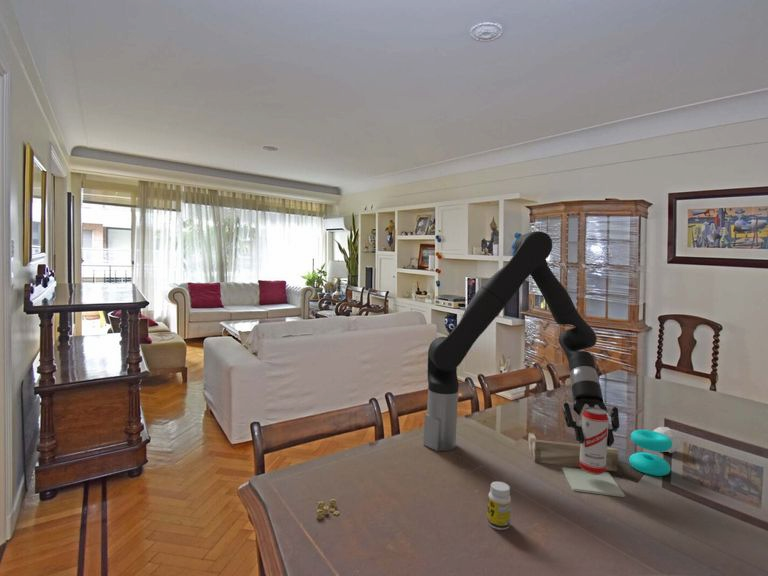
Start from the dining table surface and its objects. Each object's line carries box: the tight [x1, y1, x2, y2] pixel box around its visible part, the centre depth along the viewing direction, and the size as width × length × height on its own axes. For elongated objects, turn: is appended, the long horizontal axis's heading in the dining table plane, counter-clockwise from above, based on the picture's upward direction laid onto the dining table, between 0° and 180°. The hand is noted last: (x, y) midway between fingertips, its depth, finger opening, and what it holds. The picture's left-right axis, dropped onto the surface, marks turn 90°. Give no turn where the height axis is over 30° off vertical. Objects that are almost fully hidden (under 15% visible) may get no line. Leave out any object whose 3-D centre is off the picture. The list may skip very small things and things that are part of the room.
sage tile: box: [561, 466, 626, 498], centre depth 113 cm, size 12×12×1 cm
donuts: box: [628, 429, 672, 477], centre depth 122 cm, size 10×10×10 cm
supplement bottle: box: [486, 481, 512, 531], centre depth 93 cm, size 5×5×8 cm
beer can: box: [579, 407, 610, 475], centre depth 113 cm, size 6×6×16 cm
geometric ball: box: [652, 426, 681, 454], centre depth 135 cm, size 8×8×8 cm
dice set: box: [315, 498, 340, 520], centre depth 95 cm, size 5×5×2 cm
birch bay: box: [527, 432, 619, 472], centre depth 128 cm, size 12×22×6 cm, turn 80°
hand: (595, 443), depth 111 cm, fingers closed on beer can, 6 cm apart
